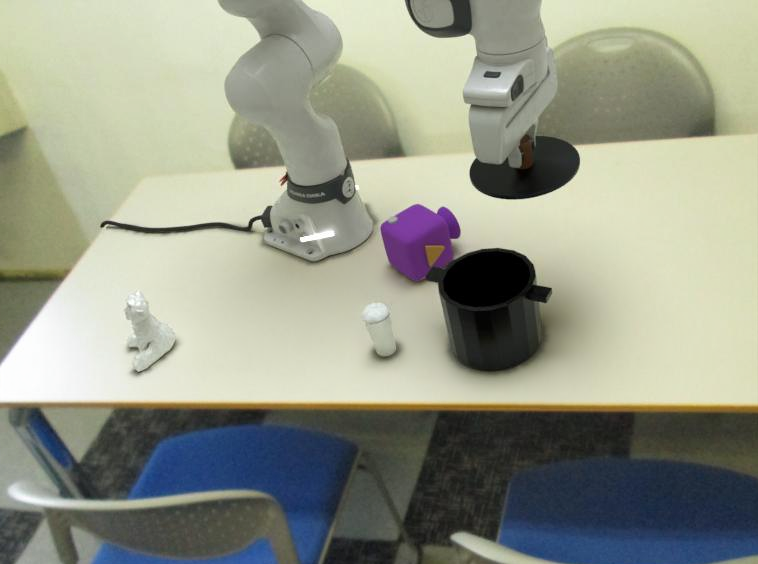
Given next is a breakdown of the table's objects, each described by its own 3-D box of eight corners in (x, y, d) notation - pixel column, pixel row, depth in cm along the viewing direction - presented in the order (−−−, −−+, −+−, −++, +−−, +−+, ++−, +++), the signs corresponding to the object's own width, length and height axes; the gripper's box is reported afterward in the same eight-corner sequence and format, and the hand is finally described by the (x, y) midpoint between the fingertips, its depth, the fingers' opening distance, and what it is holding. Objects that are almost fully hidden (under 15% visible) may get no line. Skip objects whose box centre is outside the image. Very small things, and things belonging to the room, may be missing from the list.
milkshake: (402, 359, 130) (388, 312, 122) (370, 359, 131) (355, 313, 124) (407, 340, 133) (394, 293, 125) (376, 340, 134) (362, 294, 127)
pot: (536, 384, 121) (528, 321, 112) (421, 356, 129) (405, 297, 120) (571, 321, 128) (567, 258, 120) (460, 299, 137) (449, 239, 128)
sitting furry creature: (129, 343, 146) (97, 292, 137) (174, 325, 147) (146, 273, 139) (136, 374, 140) (104, 323, 131) (183, 355, 141) (154, 302, 132)
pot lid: (554, 210, 107) (552, 176, 103) (451, 195, 114) (445, 163, 110) (596, 148, 116) (595, 114, 112) (498, 138, 123) (494, 106, 119)
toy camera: (474, 247, 147) (466, 200, 139) (425, 289, 141) (414, 242, 134) (431, 231, 153) (421, 185, 145) (382, 271, 147) (369, 225, 140)
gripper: (522, 25, 110) (531, 118, 120) (455, 98, 99) (471, 194, 109) (565, 26, 108) (571, 121, 118) (501, 101, 97) (513, 200, 106)
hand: (522, 157), depth 113 cm, fingers closed on pot lid, 2 cm apart
